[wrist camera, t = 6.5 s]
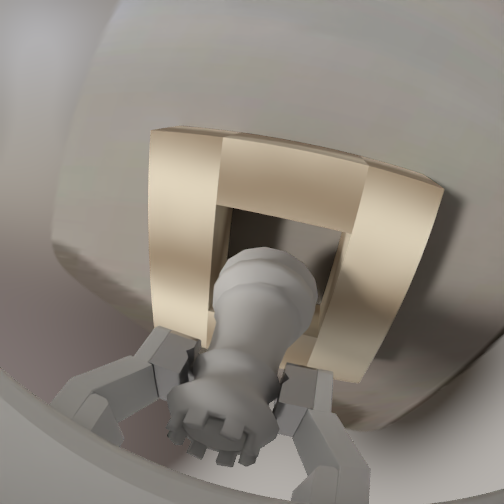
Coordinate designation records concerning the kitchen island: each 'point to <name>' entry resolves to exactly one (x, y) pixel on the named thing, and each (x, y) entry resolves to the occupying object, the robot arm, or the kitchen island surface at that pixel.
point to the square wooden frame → (293, 208)
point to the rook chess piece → (243, 356)
